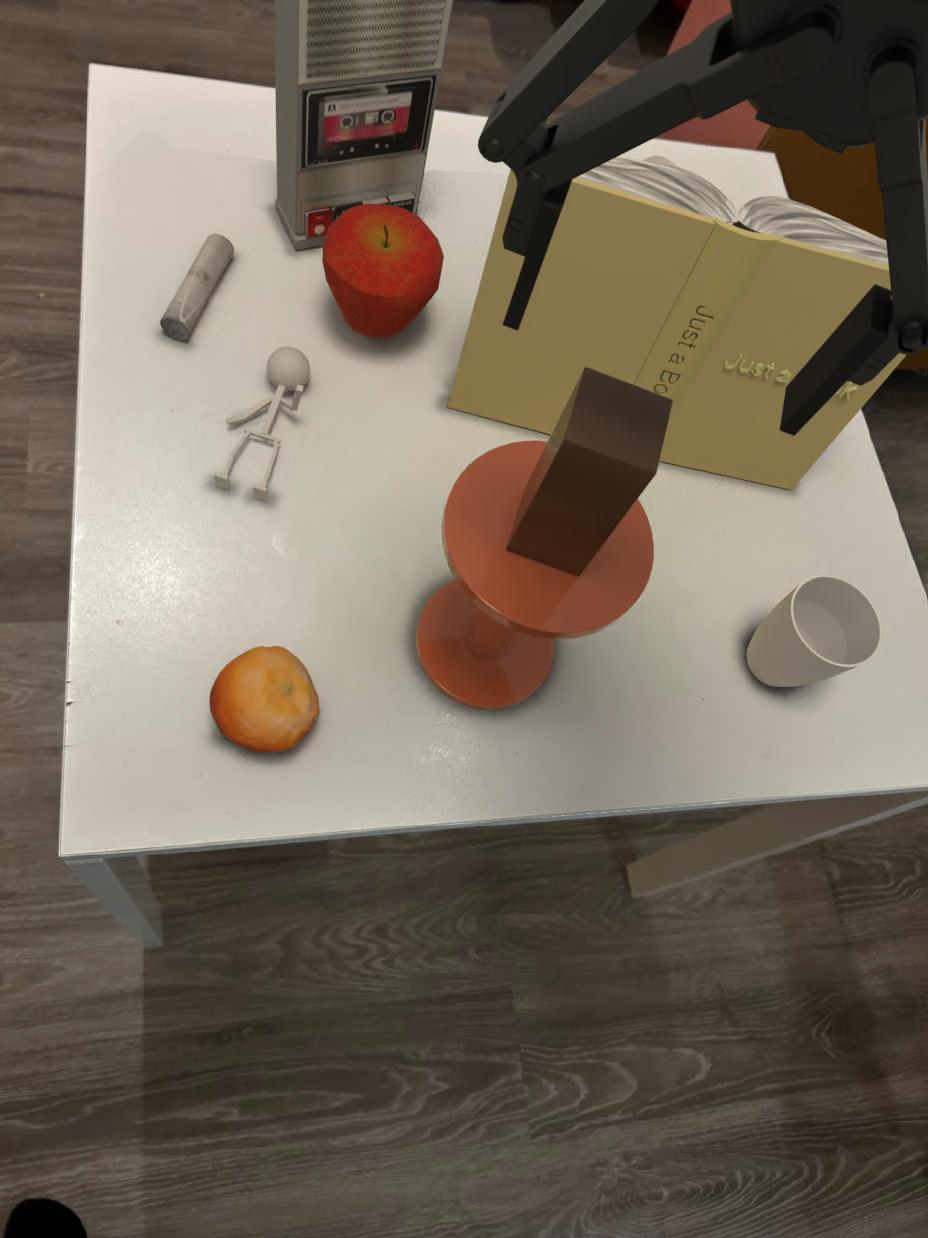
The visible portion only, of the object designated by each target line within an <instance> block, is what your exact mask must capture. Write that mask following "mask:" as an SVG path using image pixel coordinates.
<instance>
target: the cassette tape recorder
mask: <svg viewBox="0 0 928 1238" xmlns="http://www.w3.org/2000/svg"><path fill="white" fill-rule="evenodd" d="M453 5H454V0H273V10H274V11H273V12H274V13H273V17H274V18H273V20H274V21H273V22H274V24H273V25H274V27H273V28H274V79H275V81H274V84H275V86H274V88H275V90H274V91H275V151H276V158H275V159H276V160H275V161H276V198H275V199H274V206H275V207H274V209H275V210H276V212H277V215H278V216H279V218H280V220H281V223H282V224H283V227H284V228H285V232H286V233H287V235H288V237H289V240H290V241H291V243H292V245H293V247H294V249H295V250H301V249H308V248H313V247H318V246H319V247H320V246H323V242H324V240H325V237H326V234H327V231H328V228H329V226H330V225H331V224H332V223H333V222H334V221H335V220H336V219H337V218H338V217H339V216H340V215H341V214H342V213H343V212H345V211H346V210H348V209H350V208H352V207H356V206H359V205H363V204H386V205H391V206H396V207H401V208H404V209H406V210H408V211H410V212H411V213H413V214H415V215H417V216H419V217H420V215H419V213H418V210H419V205H420V199H421V193H422V187H423V181H424V175H425V169H426V164H427V163H426V162H427V157H428V151H429V147H430V141H431V140H430V139H431V134H432V128H433V122H434V116H435V112H436V111H435V110H436V105H437V101H438V100H437V99H438V94H439V87H440V81H441V76H442V70H443V64H444V57H445V51H446V46H447V41H448V35H449V28H450V23H451V16H452V11H453V7H454V6H453Z"/></svg>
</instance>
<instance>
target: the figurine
mask: <svg viewBox="0 0 928 1238" xmlns="http://www.w3.org/2000/svg"><path fill="white" fill-rule="evenodd" d="M266 373H267V376H268V379H269V380H270V382H271V383H272V384H273V385H274V386H275V387H276V390H275V393H271V394H269V395H268V396H267V397H266V398H263V400H261V401H260V402H258V403H256V404H255V405H254V406H252V407H251V408H249V409H247V410H246V411H245V412H243V413H242V414H239V415H235V416H230V417H228V418H225V420H226V423H227V425H229V426H234V425H237V424H241V423H244V422H246V421H248V420H249V419H251V418H253V417H254V416H255V415H257V414H258V413H260V412H261V411H263V410H264V409H265V408H267V407H269V408H268V410H267V414H266V416H265V419H264V422H263V425H262V428H261V430H260V431H256V430H255V429H252V428H248V427H244V430H243V433H244V434H243V435H242V437H241V438H240V439H239V440H238V442H237V444H236V445H235V447H234V448H233V449H232V450H231V452H230V453H229V455H228V456H229V457H228V459H227V462H226V464H225V468H224V471H223V473H219V472H216V471H215V472H214V475H213V477H214V482H215V486H216V487H217V488H219V489H224V490H227V491H230V489H231V482H230V479H229V475H230V471H231V468H232V465H233V462H234V459H235V457H236V456H237V454H238V452H239V451H240V450H241V449H242V447H243V445H244V444H245V442H246V441H247V440H248V438H249V437H250V436H254V437H257V438H260V439H264V440H266V441H270V442H273V450H272V452H271V456H270V459H269V461H268V464H267V468H266V471H265V474H264V477H263V480H262V482H261V485H259V484H257V483H254V484H253V487H252V489H253V497H254V499H257V500H261V501H263V502H268V500H269V493H268V492H269V491H268V487H267V485H268V482H269V479H270V476H271V473H272V470H273V469H274V468H273V467H274V465H275V461H276V458H277V456H278V452H279V444H281V442H282V438H280V437H277V436H274V435H270V434H269V433H270V431H271V429H272V426H273V424H274V421H275V419H276V416H277V414H278V411H279V409H280V407H281V406H282V407H284V408H285V409H287V410H289V411H292V412H293V411H295V412H297V411H298V408H299V404H300V402H301V399H302V395H303V392H304V386H305V385H306V384H307V382H308V380H309V379H310V374H311V366H310V362H309V359H308V358H307V356H306V354H305V353H303V352H302V351H301V350H300V349H298V348H296V347H293V346H282V347H278V348H276V349H275V350H274V351H272V353H271V354H270V355H269V357H268V359H267V362H266ZM285 392H294V395H293V398H292V401H291V400H289V399H287V398H285V397H284V395H285Z"/></svg>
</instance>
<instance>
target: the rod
mask: <svg viewBox="0 0 928 1238" xmlns="http://www.w3.org/2000/svg"><path fill="white" fill-rule="evenodd" d="M234 253H235V247H234V245H233V243H232V242H231V240H230V239H228V238H227V237H225V236H224V235H221V234H218V233H211V234H209V235H208V236H207V237H206V239H205V241H204V242H203V244H202V246H201V248H200V249H199V251H198V253H197V255H196V257H195V258H194V260H193V263H192V264H191V266H190V268H189V270H188V271H187V273H186V274H185V276H184V278H183V280H182V281H181V284H180V285H179V287H178V289H177V291H176V293H175V294H174V296H173V298H172V299H171V301H170V303H169V304H168V306H167V308H166V310H165V311H164V313H163V315H162V316H161V318H160V321H159V325H160V327H161V329H162V330H163V332H164V334H166V335H167V336H168V337H169V338H171V339H173V340H175V341H184V340H186V339H187V338H188V337H189V335H190V333H191V331H192V330H193V327H194V326H195V324H196V322H197V320H198V318H199V316H200V314H201V312H202V311H203V308H204V307H205V305H206V304H207V301H208V299H209V297H210V296H211V295H212V292H213V291H214V289H215V287H216V285H217V283H218V281H219V280H220V278H221V277H222V275H223V272H224V270H225V269H226V267H227V266H228V264H229V262H230V260H231V259H232V257H233V255H234Z"/></svg>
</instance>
